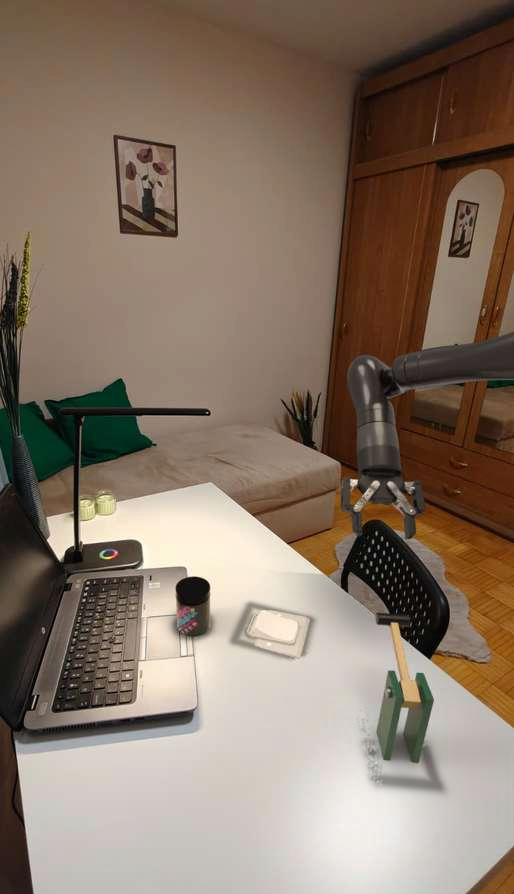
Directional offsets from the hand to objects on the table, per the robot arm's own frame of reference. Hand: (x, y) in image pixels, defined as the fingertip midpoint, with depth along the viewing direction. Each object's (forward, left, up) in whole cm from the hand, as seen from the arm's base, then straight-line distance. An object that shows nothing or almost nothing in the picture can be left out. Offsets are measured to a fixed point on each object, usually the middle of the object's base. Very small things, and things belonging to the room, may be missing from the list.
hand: (384, 536), depth 76 cm
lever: (0, +15, -12) cm, 19 cm away
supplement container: (+34, -1, -25) cm, 42 cm away
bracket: (0, +21, -25) cm, 32 cm away
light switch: (+18, -1, -25) cm, 31 cm away
